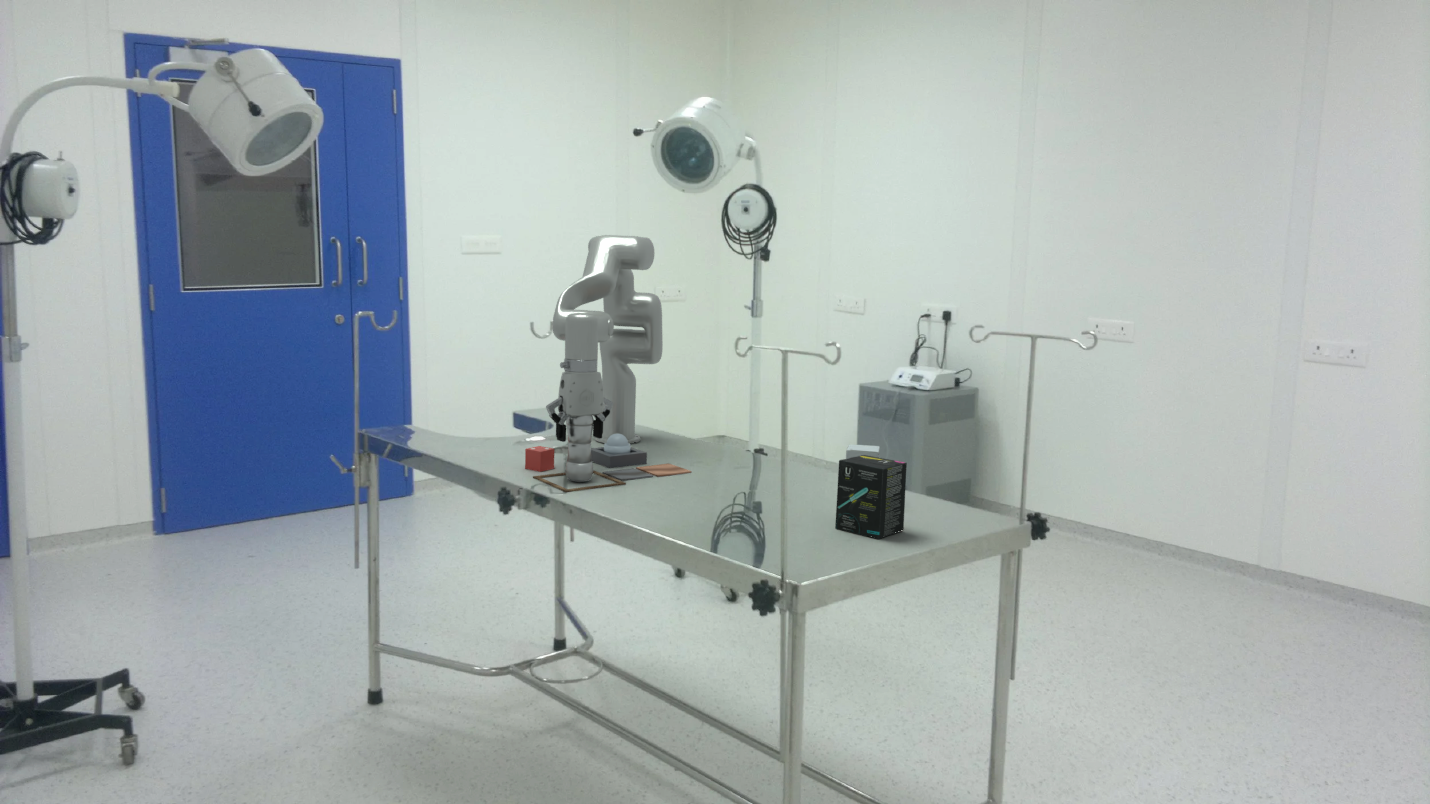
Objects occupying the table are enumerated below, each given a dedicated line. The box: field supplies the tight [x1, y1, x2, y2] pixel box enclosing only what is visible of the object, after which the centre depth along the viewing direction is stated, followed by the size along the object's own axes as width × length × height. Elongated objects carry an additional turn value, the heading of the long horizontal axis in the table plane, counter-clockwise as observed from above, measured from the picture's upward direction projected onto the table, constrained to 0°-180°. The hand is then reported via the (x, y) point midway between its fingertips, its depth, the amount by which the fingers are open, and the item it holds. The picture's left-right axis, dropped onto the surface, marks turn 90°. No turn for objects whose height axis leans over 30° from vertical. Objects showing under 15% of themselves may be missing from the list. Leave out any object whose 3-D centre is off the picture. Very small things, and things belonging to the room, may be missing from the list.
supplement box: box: [845, 443, 881, 459], centre depth 240 cm, size 7×7×13 cm
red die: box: [524, 445, 555, 473], centre depth 262 cm, size 5×5×5 cm
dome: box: [603, 434, 632, 455], centre depth 273 cm, size 7×7×6 cm
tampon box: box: [834, 455, 907, 539], centre depth 217 cm, size 11×9×15 cm
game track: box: [532, 462, 692, 493], centre depth 257 cm, size 16×37×1 cm, turn 127°
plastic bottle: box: [564, 415, 595, 483], centre depth 249 cm, size 6×7×20 cm
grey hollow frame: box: [591, 446, 648, 469], centre depth 273 cm, size 11×11×3 cm
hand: (579, 439), depth 249 cm, fingers open, 9 cm apart
